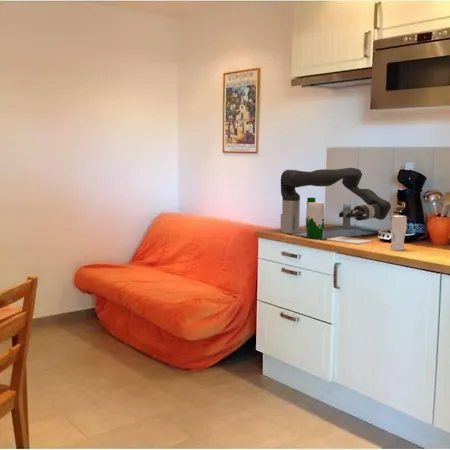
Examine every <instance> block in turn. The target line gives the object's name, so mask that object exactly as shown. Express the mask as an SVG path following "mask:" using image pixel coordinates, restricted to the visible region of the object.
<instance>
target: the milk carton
mask: <svg viewBox="0 0 450 450" xmlns="http://www.w3.org/2000/svg"><path fill="white" fill-rule="evenodd" d="M305 211H306V212H305V216H306V217H305V230H306V237H307V239H318V238H322V239H323V236H324V229H325V202H324V201H317V200H316V197H307V199H306V209H305Z"/></svg>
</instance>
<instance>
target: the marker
mask: <svg viewBox="0 0 450 450" xmlns="http://www.w3.org/2000/svg"><path fill="white" fill-rule="evenodd" d="M351 210H352V204H351V203H349V202H348V203H347V202H345V203H343V204H342V211H343V217H342V230H344V231H345V230H351V218H346V214H347V213H351Z"/></svg>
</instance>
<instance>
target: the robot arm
mask: <svg viewBox="0 0 450 450" xmlns="http://www.w3.org/2000/svg"><path fill="white" fill-rule="evenodd" d="M361 172H362V170H360V169H359V168H357V167H345V168H338V169H337V168H336V169H326V168H325V169H316V170H311V171H306V170H305V171H304V170H297V169H285V170H284V171H283V172H282V173H281V176H280V195H281V197H282V200H281V201H282V204H281V205H282V206H281V207H282V208H281V209H282V210H281V212H282V213H280V232H281V233H284V234H285V233H286V234H298V233H300V218H301V217H300V216H301V215H300V213H301V212H300V209H301V208H300V207H301V196H300V194H299V192H297V191H296V188H301V187H307V186H312V187H329V186H332V185H333V186H334V185H335V184H337V183H338V182H339V181H341V180H342V181H341V184H342V185H343V187H344V188H346V189H347V190H349V191H350V192H352V193H353V194H354V195H355V196H357V197H359V198H360V199H361V200H362V201H364V203H365V204H361V205H356V206H355V207H354V208H351V213H347V214H346V218H350V219H351V218H352V219H355V221H365V220H366V221H367V220H370V219H377V220H380V221H382V220H385V219H386V218H387V216H388V214H389V212H390V210H391V209H392V204H391V203H390V201H388V200H386V199H384V198H381V196H378V195H377V193H375V192H374V191H373V190H372V189H369V188H360V187H359V184H360V181H361V179H362V177H363V173H361ZM338 217H339V218H343V210H341V211H340V212H339V213H338Z"/></svg>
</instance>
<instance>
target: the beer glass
mask: <svg viewBox="0 0 450 450" xmlns="http://www.w3.org/2000/svg"><path fill="white" fill-rule="evenodd" d="M407 219H408V217H407V216H406V215H402V214H397V215H394V214H393V215H391V216H390V222H389V223H390V225H389V229H390V236H391V238H390V239H391V242H390V243H391V244H390V250H392V251H405V236H406V233H407V227H408V226H407V225H408V224H407V222H408V220H407Z"/></svg>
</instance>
